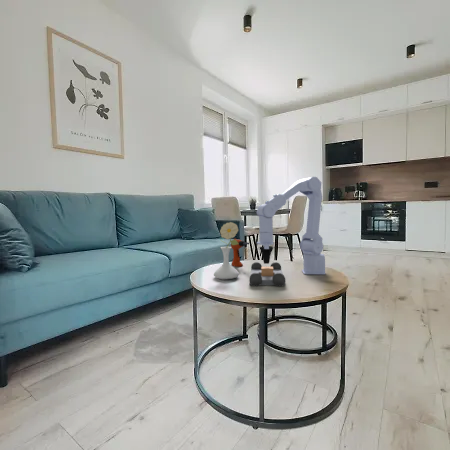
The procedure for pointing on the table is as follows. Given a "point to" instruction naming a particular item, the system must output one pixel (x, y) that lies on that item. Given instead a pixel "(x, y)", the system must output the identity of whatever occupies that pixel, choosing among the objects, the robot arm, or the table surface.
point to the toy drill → (237, 253)
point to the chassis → (258, 279)
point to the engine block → (267, 271)
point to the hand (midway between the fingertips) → (266, 263)
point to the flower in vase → (227, 253)
